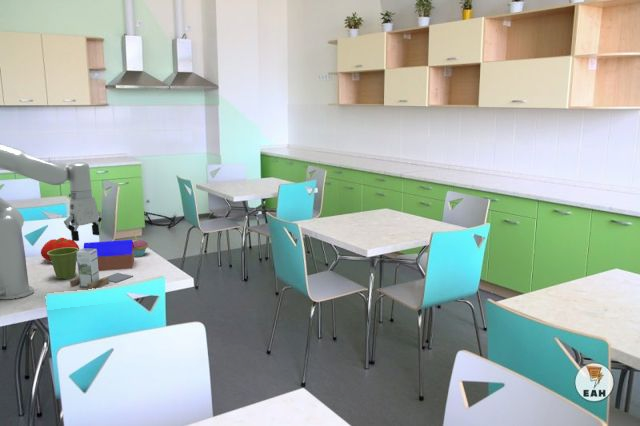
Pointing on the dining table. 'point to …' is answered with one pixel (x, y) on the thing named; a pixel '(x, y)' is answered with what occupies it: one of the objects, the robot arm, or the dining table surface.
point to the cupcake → (139, 246)
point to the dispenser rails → (91, 285)
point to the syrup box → (87, 266)
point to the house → (113, 254)
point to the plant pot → (64, 262)
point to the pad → (118, 277)
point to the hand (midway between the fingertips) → (86, 237)
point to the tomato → (57, 246)
